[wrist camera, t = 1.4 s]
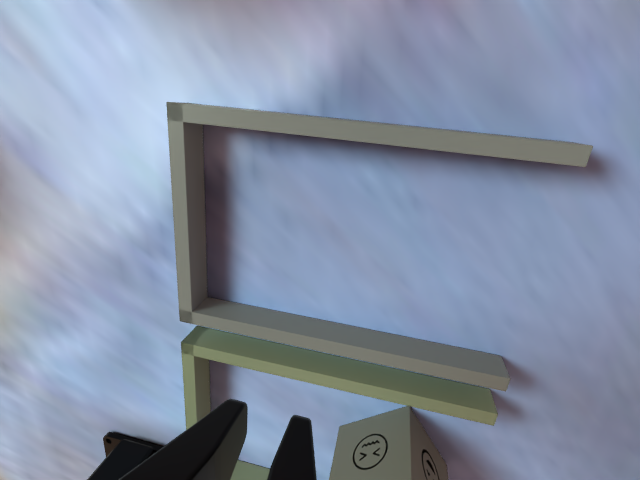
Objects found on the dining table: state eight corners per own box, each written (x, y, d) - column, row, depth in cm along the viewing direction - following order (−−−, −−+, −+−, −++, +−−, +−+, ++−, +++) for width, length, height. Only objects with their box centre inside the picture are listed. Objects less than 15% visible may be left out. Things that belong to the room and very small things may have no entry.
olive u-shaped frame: (497, 367, 19) (505, 391, 18) (196, 305, 22) (179, 321, 21) (572, 142, 15) (593, 146, 13) (187, 103, 18) (166, 101, 16)
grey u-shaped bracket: (444, 526, 24) (447, 556, 23) (202, 457, 27) (189, 479, 26) (489, 389, 20) (497, 414, 18) (196, 325, 23) (181, 342, 21)
